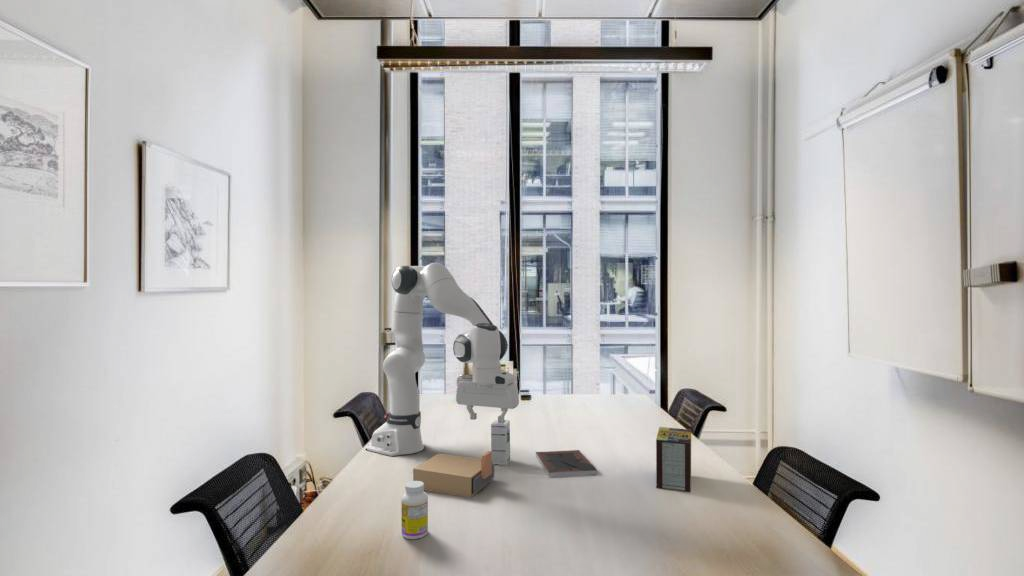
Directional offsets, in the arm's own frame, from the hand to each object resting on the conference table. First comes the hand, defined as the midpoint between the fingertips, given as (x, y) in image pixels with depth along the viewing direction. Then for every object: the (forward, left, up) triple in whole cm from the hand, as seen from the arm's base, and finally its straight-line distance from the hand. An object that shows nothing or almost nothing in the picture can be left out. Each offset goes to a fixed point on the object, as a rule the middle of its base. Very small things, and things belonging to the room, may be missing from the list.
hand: (487, 420), depth 165 cm
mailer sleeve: (-12, 0, -21) cm, 24 cm away
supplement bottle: (-5, -34, -22) cm, 41 cm away
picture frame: (+16, +30, -22) cm, 41 cm away
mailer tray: (-10, 0, -20) cm, 23 cm away
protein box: (+53, +28, -22) cm, 64 cm away
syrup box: (-6, +24, -21) cm, 33 cm away
